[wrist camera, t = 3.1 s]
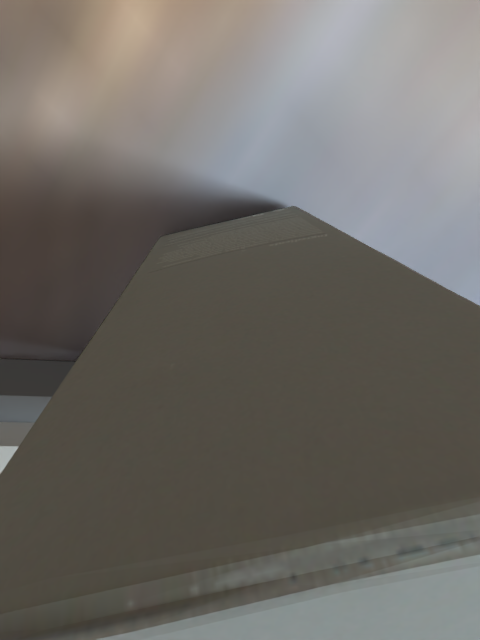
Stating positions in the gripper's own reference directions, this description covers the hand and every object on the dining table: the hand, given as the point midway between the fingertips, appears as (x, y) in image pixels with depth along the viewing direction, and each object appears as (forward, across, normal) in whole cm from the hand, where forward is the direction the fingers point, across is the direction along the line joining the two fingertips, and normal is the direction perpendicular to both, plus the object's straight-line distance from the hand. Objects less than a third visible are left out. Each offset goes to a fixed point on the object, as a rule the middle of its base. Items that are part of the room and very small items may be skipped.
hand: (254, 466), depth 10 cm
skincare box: (+9, -1, -1) cm, 10 cm away
